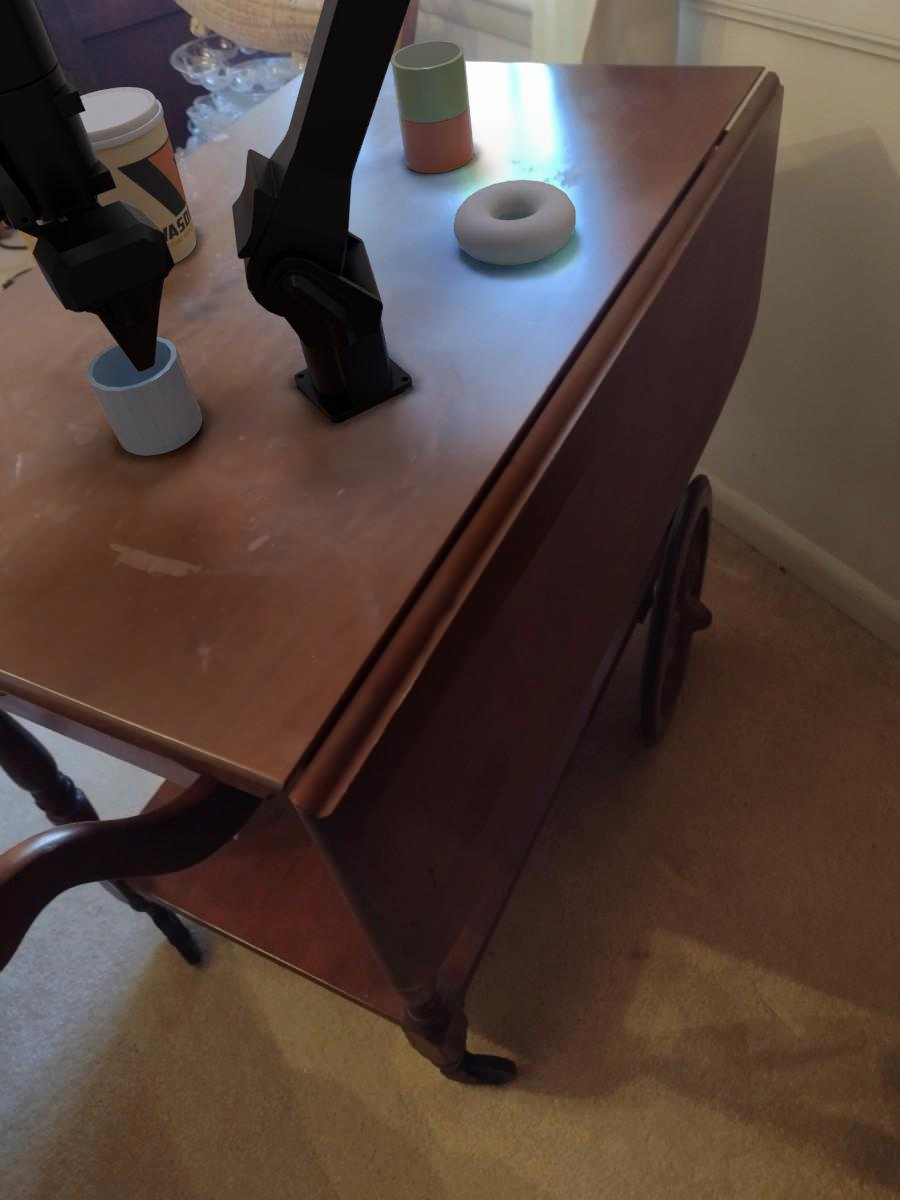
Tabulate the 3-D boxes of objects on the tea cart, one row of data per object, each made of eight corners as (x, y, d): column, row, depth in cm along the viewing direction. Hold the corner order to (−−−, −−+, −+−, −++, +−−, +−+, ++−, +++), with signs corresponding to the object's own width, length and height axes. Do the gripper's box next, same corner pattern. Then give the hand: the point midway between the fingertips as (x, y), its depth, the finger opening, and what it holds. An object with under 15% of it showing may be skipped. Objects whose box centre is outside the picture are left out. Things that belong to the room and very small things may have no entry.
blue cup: (216, 430, 64) (189, 364, 59) (135, 468, 62) (103, 402, 58) (184, 390, 67) (157, 325, 63) (107, 425, 65) (75, 360, 61)
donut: (539, 285, 71) (597, 221, 76) (537, 244, 68) (597, 181, 73) (433, 261, 75) (494, 202, 80) (427, 221, 73) (490, 163, 77)
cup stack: (487, 156, 86) (478, 51, 79) (429, 180, 84) (414, 75, 78) (449, 135, 90) (438, 34, 83) (392, 158, 88) (376, 56, 82)
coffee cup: (182, 278, 78) (128, 133, 69) (85, 278, 80) (20, 137, 71) (221, 223, 84) (176, 82, 75) (129, 224, 86) (75, 87, 77)
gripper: (-181, 79, 50) (-34, 325, 62) (-124, 190, 39) (41, 464, 51) (14, 18, 53) (119, 263, 65) (117, 105, 42) (221, 382, 54)
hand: (121, 336), depth 59 cm, fingers open, 9 cm apart
